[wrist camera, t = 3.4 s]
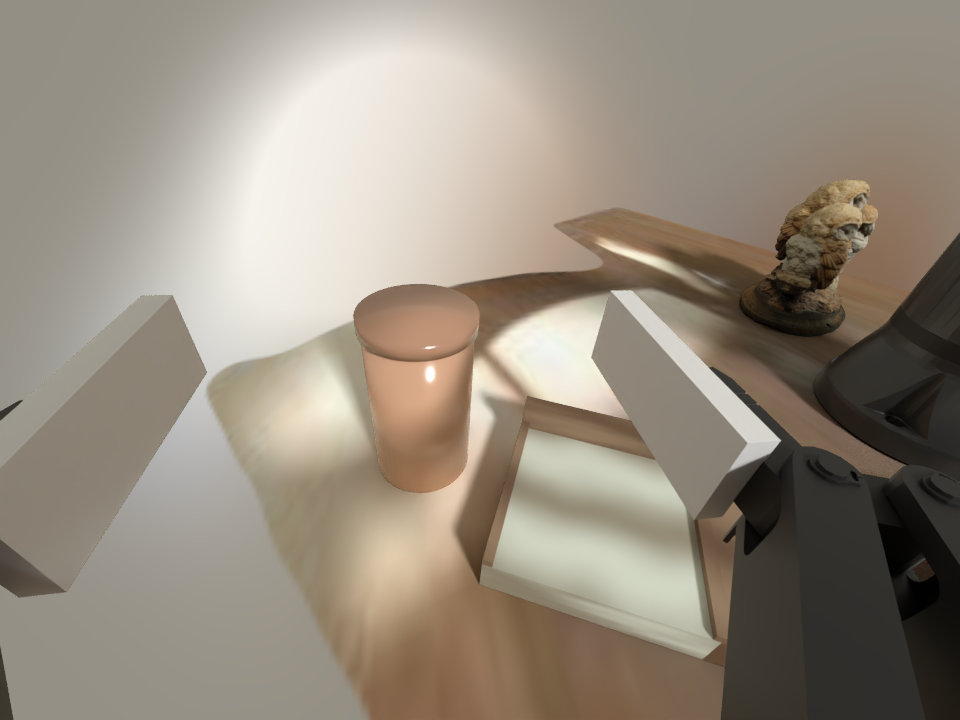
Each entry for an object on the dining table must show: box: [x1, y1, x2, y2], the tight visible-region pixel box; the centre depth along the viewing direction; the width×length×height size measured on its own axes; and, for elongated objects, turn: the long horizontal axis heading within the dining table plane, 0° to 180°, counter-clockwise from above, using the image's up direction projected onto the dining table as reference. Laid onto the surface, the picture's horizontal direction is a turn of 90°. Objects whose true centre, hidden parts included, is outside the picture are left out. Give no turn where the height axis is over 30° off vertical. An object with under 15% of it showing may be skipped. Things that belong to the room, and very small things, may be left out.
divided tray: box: [479, 396, 743, 667], centre depth 25 cm, size 12×22×5 cm, turn 73°
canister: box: [353, 284, 479, 493], centre depth 27 cm, size 7×7×13 cm
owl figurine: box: [740, 180, 878, 336], centre depth 50 cm, size 18×12×17 cm, turn 132°
